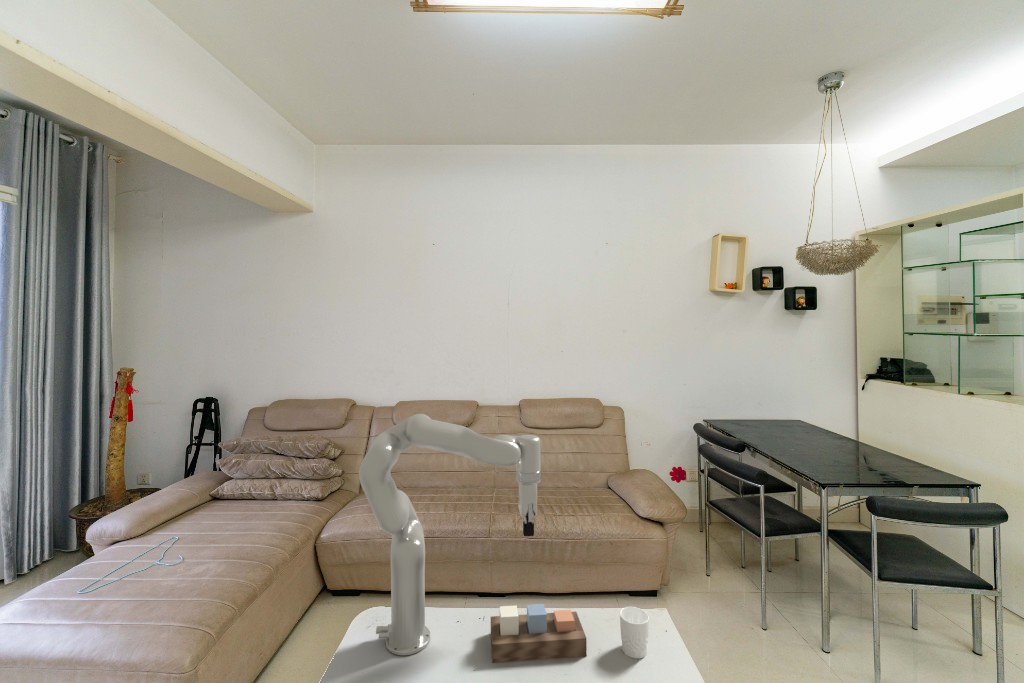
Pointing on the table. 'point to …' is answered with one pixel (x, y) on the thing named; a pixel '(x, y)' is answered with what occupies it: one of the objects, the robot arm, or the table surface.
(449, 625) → the table surface
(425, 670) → the table surface
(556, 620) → the peach block
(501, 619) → the cream key
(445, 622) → the table surface
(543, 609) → the slate key
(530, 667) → the table surface
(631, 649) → the white cup
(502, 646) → the brown long flat block
